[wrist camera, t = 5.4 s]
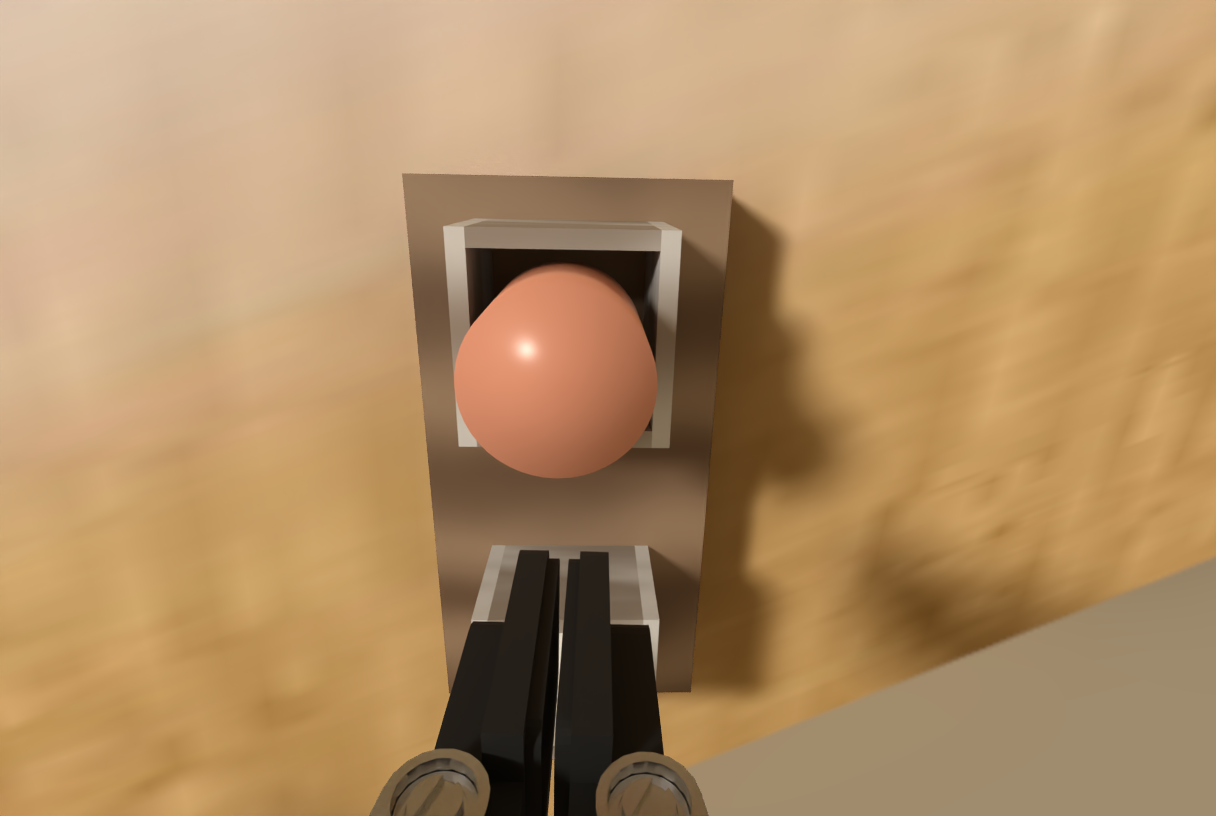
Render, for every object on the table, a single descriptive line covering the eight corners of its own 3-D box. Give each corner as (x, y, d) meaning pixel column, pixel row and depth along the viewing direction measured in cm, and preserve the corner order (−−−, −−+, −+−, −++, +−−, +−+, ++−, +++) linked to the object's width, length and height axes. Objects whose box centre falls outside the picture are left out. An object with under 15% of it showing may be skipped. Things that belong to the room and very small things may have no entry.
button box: (679, 636, 34) (708, 784, 26) (465, 636, 34) (422, 787, 25) (712, 181, 26) (771, 178, 17) (430, 175, 26) (350, 169, 17)
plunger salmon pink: (639, 412, 21) (653, 479, 16) (491, 411, 20) (460, 477, 16) (644, 262, 19) (662, 286, 14) (483, 259, 19) (447, 282, 14)
